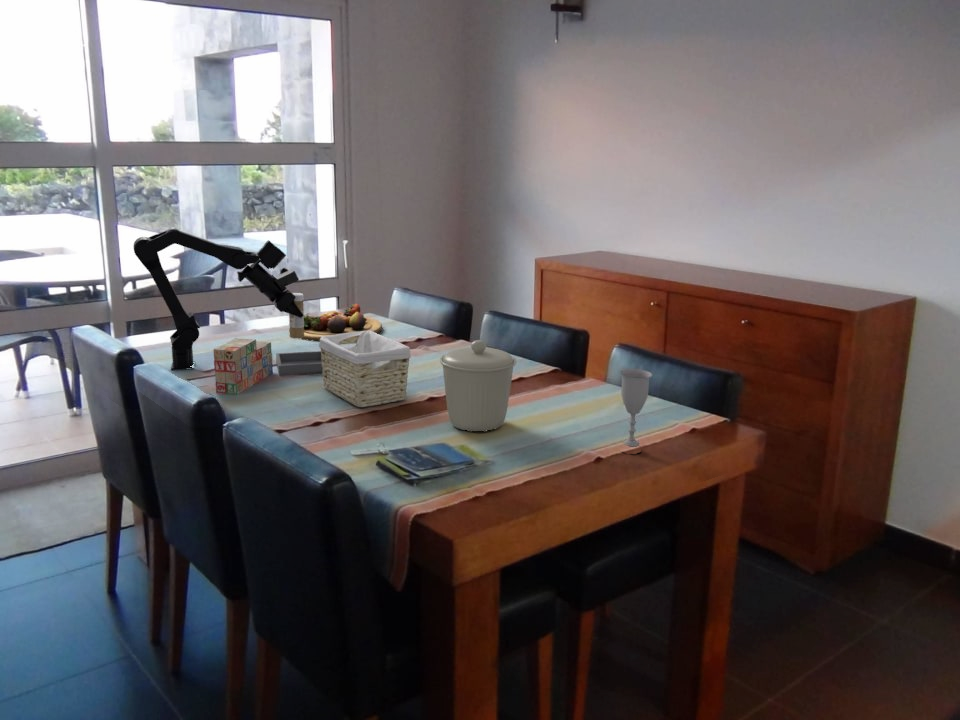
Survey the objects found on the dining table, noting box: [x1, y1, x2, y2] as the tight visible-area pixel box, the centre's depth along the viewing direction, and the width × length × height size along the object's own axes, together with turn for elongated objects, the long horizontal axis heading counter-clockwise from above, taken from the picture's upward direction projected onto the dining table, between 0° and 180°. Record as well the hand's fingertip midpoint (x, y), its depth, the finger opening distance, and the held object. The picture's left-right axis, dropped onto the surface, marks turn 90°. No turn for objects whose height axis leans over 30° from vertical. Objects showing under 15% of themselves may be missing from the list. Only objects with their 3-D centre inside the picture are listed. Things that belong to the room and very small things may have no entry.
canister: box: [439, 339, 517, 432], centre depth 201 cm, size 18×18×21 cm
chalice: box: [620, 368, 653, 447], centre depth 188 cm, size 7×7×18 cm
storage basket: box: [318, 330, 412, 408], centre depth 224 cm, size 24×16×15 cm
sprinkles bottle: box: [288, 292, 305, 339], centre depth 257 cm, size 5×5×14 cm
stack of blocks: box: [213, 337, 274, 395], centre depth 233 cm, size 21×6×12 cm, turn 168°
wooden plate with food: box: [289, 303, 383, 342], centre depth 295 cm, size 32×32×8 cm
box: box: [275, 350, 323, 377], centre depth 249 cm, size 14×14×3 cm
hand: (300, 314), depth 258 cm, fingers closed on sprinkles bottle, 4 cm apart
